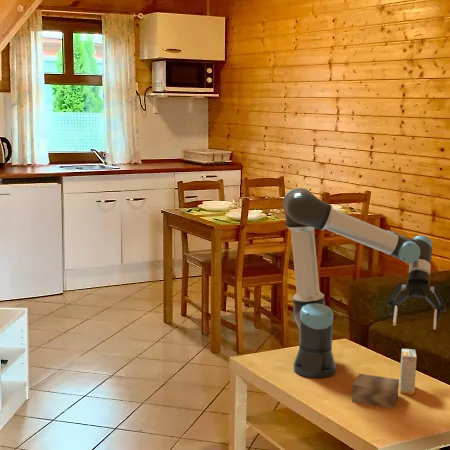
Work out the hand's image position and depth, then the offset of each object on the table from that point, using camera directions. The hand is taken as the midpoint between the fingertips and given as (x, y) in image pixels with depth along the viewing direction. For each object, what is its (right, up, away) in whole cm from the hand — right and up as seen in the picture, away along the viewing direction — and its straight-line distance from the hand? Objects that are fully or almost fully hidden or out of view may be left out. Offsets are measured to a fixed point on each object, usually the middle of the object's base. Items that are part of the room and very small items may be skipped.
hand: (414, 325), depth 248 cm
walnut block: (-17, -22, -16) cm, 32 cm away
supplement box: (-5, -21, -7) cm, 23 cm away
